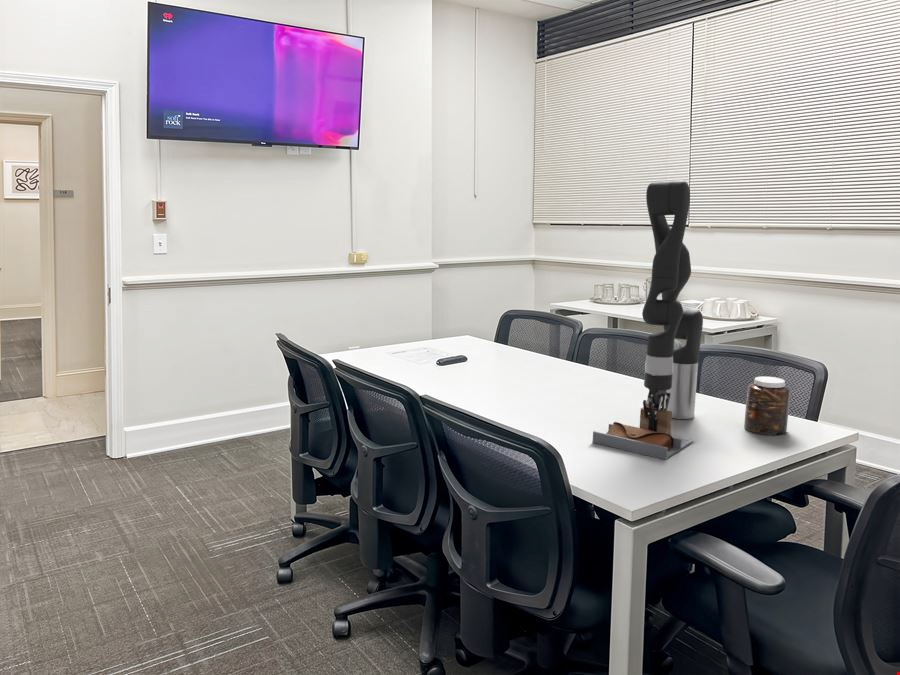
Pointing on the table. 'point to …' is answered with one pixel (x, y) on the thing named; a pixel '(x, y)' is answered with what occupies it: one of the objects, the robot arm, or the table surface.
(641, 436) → the sunglasses case
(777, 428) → the jar
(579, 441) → the table surface
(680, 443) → the grey divided tray
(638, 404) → the table surface
